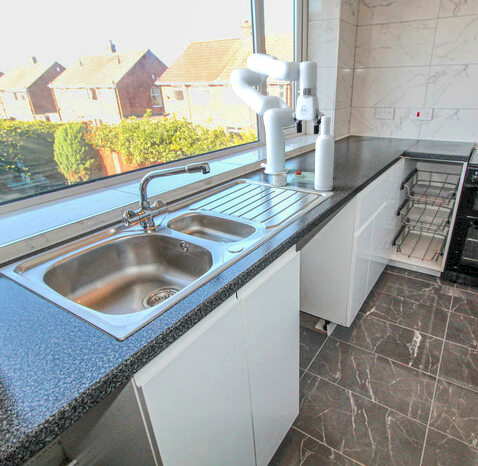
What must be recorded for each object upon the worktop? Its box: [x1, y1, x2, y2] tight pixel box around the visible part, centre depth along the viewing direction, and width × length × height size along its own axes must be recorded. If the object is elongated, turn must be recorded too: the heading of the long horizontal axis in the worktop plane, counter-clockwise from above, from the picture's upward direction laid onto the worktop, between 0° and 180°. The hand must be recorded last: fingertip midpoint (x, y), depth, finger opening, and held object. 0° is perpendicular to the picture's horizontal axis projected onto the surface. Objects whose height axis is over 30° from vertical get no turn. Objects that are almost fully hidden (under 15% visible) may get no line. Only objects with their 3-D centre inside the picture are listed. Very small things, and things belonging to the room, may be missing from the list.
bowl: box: [272, 173, 288, 187], centre depth 150 cm, size 6×7×5 cm
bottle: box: [314, 115, 336, 192], centre depth 138 cm, size 8×8×30 cm
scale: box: [291, 171, 315, 185], centre depth 158 cm, size 17×14×3 cm
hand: (307, 133), depth 151 cm, fingers open, 9 cm apart
